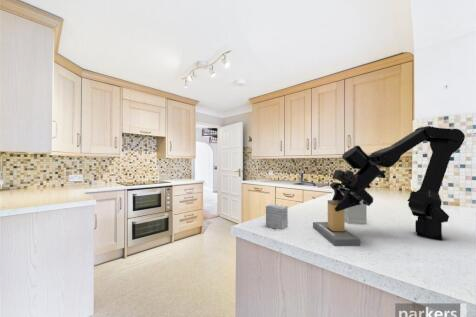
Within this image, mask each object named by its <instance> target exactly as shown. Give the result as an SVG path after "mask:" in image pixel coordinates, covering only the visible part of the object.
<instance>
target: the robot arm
mask: <svg viewBox="0 0 476 317" xmlns="http://www.w3.org/2000/svg"><path fill="white" fill-rule="evenodd" d="M465 139H466V134H464V132H463V131H462V129H460V128H445V127H444V128H443V127H435V126H430V125H427V126H421V127H418V128H416V129H415V130H413V131H412V132H411V133H409V134H407V135H406V136H404V137H402V138H401V139H400V140H398V141H396V142H394V143H393V144H392V145H390V146H387V147H384V148H380V149H378V150H376V151H373V152H371V153H370V155H369V154H367V153H366V152H365V151H364V149H362V147H361V146H360V145H354V146H353V147H352V148H350V149H348V150H347V151H345V152H344V153H343V154H342V155H341V159H343V160H344V161H345V163H347V164H348V165H349V166H350V168H352V169H353V170H357V172H356V173H354V171H352V170H349V169H347V170H340V169H339V170H338V169H335V170H334V172H333V175H332V177H331V178H332V179H334V180H337V181H338V182H336V181H333V182H331V183H330V184H329V187H330V188H331V189H332V190H333V192H334V194H333V197H332V199H331V200H339V201H340V203H339V204H338V205H337V206H336V208H335V210H336V211H337V212H338V211H341V210H344V209H346V208H349V207H353V206H356V205H361V203H360V201H361V200H363V204H365V205H366V207H367V206H368V207H369V206H371V205H372V204H373V203H374V197H373V196H372V195H371V194H370V193H369V192H368V190H369V189H370V188H372V186H371V184H372V183H373V182H374V181H375V180H376V179H378V178H379V179H386V174H385V172H386V171H385V170H383V169H382V170H381V169H380V168H391V167H393V166H394V165H395V164H396V163H398V162H399V161H400V159H401V157H402V156H403V155H404V154H405V153H407V152H409V151H410V150H411V149H414V148H415V147H416V146H418V145H420V144H421V143H423V142H424V141H425V142H428V143H429V147H430V149H431V152H432V153H431V155H430V159H429V162H428V165H427V167H426V169H425V170H426V171H425V174H424V177H423V179H422V183H421V185H420V187H419V189H418V190H416V191H414V190H411V192H410V193H409V198H408V199H407V202H408V204H407V205H408V207H409V210H410V212H411V214H412V216H414V217H417V219H415V221H414V222H415V223H414V224H415V233H416V235H417V236H418V237H423V238H428V239H434V240H438V241H439V240H440V241H443V232H442V229H443V228H442V227H443V226H442V225H443V223H448V222H449V218H450V216H449V214H448V213H447V212H446V211H445V210H444V209H443V208H442V202H443V201H442V199H441V196H440V189H441V187H442V183H443V180H444V177H445V174H446V171H447V169H448V166H449V164H450V160H451V157H452V155H453V154H455V153H456V152H457V151H458V150H460V148H461V147H462V145H463V143H464V141H465ZM366 189H368V190H366Z"/></svg>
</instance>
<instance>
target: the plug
mask: <svg viewBox="0 0 476 317" xmlns="http://www.w3.org/2000/svg"><path fill="white" fill-rule="evenodd" d="M339 203H340V201H339V200H332V199H330V200H328V199H327V222H328V228H329V229H331V230H332V231H344V229H345V220H344V210H341V211H338V212H337V211H336V210H335V208H336V206H337V205H338V204H339Z"/></svg>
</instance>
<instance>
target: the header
mask: <svg viewBox="0 0 476 317" xmlns="http://www.w3.org/2000/svg"><path fill="white" fill-rule="evenodd" d="M312 227H313V229H314V230H316V231H317V232H318V233H319V234H320V235H321V236H322V237H324V238H325V239H326V240H327V241H328V242H330V243H331V245H333V246H334V247H361V239H360V238H359V237H358V236H356V235H354V234H353V233H350V232H349V231H348V230H347V229H345V228H344V231H332V230H331V229H329V228H328V221H313V222H312Z"/></svg>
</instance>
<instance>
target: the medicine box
mask: <svg viewBox="0 0 476 317" xmlns="http://www.w3.org/2000/svg"><path fill="white" fill-rule="evenodd" d="M288 217H289V216H288V206H283V205H278V204H268V205H266V206H265V226H266V227H268V228H272V229H276V230H277V229H278V230H283V231H284V230H285V229H288V227H289V225H288V224H289V223H288V222H289V221H288V220H289V218H288Z"/></svg>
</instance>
